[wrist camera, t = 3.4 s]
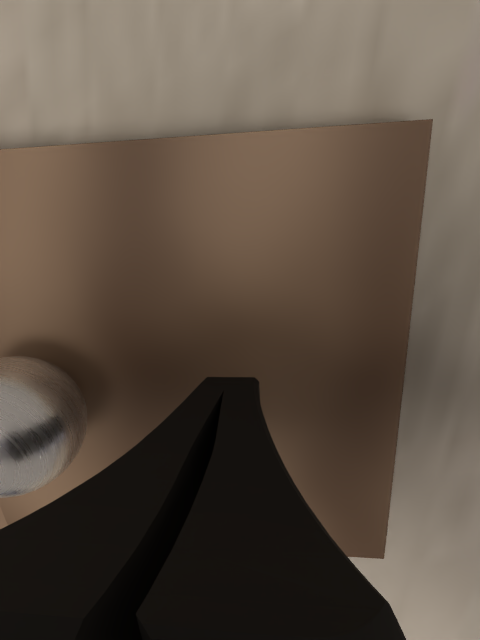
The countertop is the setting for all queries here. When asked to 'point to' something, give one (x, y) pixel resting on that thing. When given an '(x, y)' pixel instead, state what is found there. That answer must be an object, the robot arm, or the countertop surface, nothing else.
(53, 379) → the steel ball
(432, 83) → the countertop surface
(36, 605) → the robot arm
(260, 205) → the walnut board
